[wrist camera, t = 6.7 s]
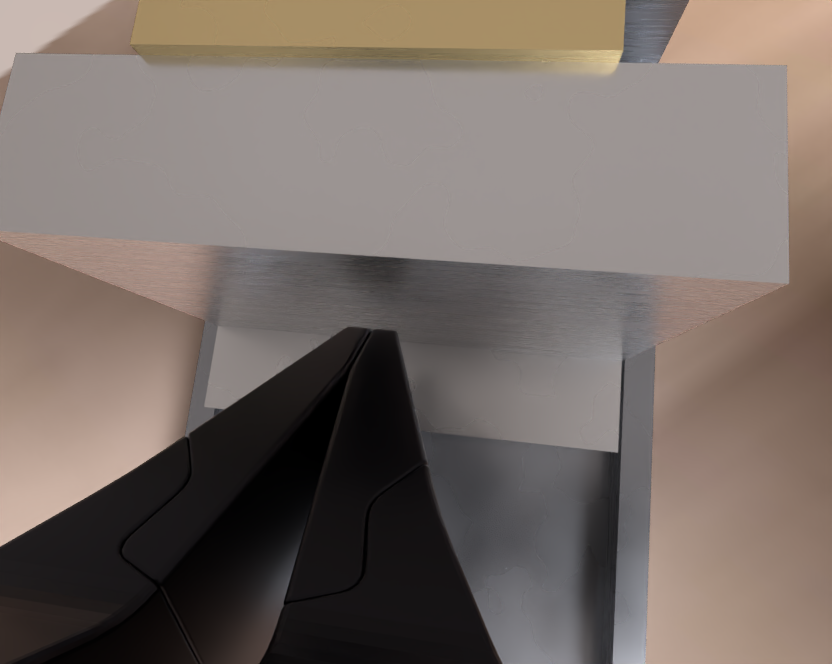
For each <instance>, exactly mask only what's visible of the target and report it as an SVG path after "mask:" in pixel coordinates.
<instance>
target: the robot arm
mask: <svg viewBox="0 0 832 664" xmlns="http://www.w3.org/2000/svg"><path fill="white" fill-rule="evenodd" d="M0 664H503V663H502V661H501V659H500V657H499V655H498V653H497V651H496V648H495V646H494V644H493V642H492V639H491V637H490V635H489V632H488V630H487V628H486V625H485V623H484V620H483V618H482V616H481V613H480V611H479V608H478V606H477V603H476V601H475V599H474V596H473V594H472V591H471V589H470V587H469V584H468V582H467V579H466V577H465V574H464V572H463V570H462V567H461V565H460V562H459V560H458V558H457V555H456V553H455V550H454V548H453V545H452V542H451V539H450V537H449V534H448V531H447V528H446V526H445V523H444V520H443V517H442V515H441V511H440V507H439V504H438V500H437V497H436V493H435V489H434V486H433V481H432V477H431V473H430V468H429V466H428V461H427V457H426V452H425V448H424V444H423V439H422V435H421V431H420V426H419V422H418V418H417V414H416V409H415V405H414V401H413V396H412V392H411V388H410V383H409V379H408V375H407V370H406V366H405V362H404V358H403V353H402V349H401V345H400V340H399V336H398V333H397V331H395V330H386V329H374V330H371V329H370V328H362V327H346V328H344V329H343V330H341V331H340V332H338V333H337V334H336V335H334V336H333V337H331V338H330V339H328V340H327V341H325V342H324V343H322V344H321V345H319V346H318V347H316V348H315V349H313V350H312V351H310V352H309V353H307V354H306V355H304V356H303V357H301V358H300V359H298V360H297V361H295V362H294V363H292V364H291V365H289V366H288V367H287V368H285V369H284V370H282V371H281V372H279V373H278V374H276V375H275V376H273V377H272V378H270V379H269V380H267V381H266V382H264V383H263V384H261V385H260V386H258V387H257V388H255V389H254V390H252V391H251V392H249V393H248V394H246V395H245V396H243V397H242V398H240V399H239V400H238V401H236V402H235V403H233V404H232V405H230V406H229V407H227V408H226V409H224V410H223V411H221V412H220V413H218V414H217V415H215V416H214V417H212V418H211V419H209V420H208V421H206V422H205V423H203V424H202V425H200V426H199V427H197V428H196V429H194V430H193V431H191V432H190V433H189V434H188V437H186V436H184V437H182V438H181V439H179V440H178V441H176V442H175V443H173V444H172V445H170V446H169V447H167V448H166V449H164V450H163V451H161V452H160V453H158V454H157V455H155V456H154V457H152V458H151V459H149V460H147V461H146V462H144V463H143V464H141V465H140V466H138V467H137V468H135V469H133V470H132V471H130V472H129V473H127V474H125V475H124V476H122V477H120V478H119V479H117V480H115V481H114V482H112V483H110V484H109V485H107V486H105V487H104V488H102V489H100V490H98V491H97V492H95V493H93V494H92V495H90V496H88V497H87V498H85V499H83V500H81V501H80V502H78V503H76V504H74V505H73V506H71V507H69V508H67V509H66V510H64V511H62V512H60V513H59V514H57V515H55V516H53V517H52V518H50V519H48V520H46V521H44V522H43V523H41V524H39V525H37V526H36V527H34V528H32V529H30V530H29V531H27V532H25V533H23V534H22V535H20V536H18V537H16V538H15V539H13V540H11V541H9V542H8V543H6V544H4V545H2V546H1V547H0Z"/></svg>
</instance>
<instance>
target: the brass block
mask: <svg viewBox="0 0 832 664" xmlns="http://www.w3.org/2000/svg"><path fill="white" fill-rule="evenodd" d="M625 4H626V0H139V4H138V9H137V13H136V18H135V22H134V27H133V32H132V36H131V41H130V45H131V46H132V47H133V48H134V49H135V50H136V52H137V53H138V54H139V55H170V56H232V57H295V58H357V59H420V60H482V61H545V62H607V63H619V61H620V58H621V55H622V53H623V47H624V26H625Z"/></svg>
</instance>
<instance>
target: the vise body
mask: <svg viewBox="0 0 832 664" xmlns="http://www.w3.org/2000/svg"><path fill="white" fill-rule="evenodd" d="M688 2H689V0H626V4H625V26H624V47H623V53H622V55H621V58H620V61H619V63H658V62H659V60H660V58H661V56H662V54H663V52H664V50H665V48H666V46H667V44H668V42H669V40H670V38H671V36H672V34H673V32H674V30H675V28H676V26H677V24H678V22H679V20H680V18H681V16H682V14H683V12H684V10H685V8H686V6H687V4H688ZM217 329H218V326H217V325H215V324H212V323H210V322H207V321H205V324H204V330H203V336H202V341H201V347H200V353H199V359H198V364H197V370H196V376H195V381H194V387H193V393H192V398H191V404H190V410H189V415H188V421H187V427H186V433H185V436H186V437H188V434H189V433H190V432H191V431H193V430H194V429H196V428H197V427H199V426H200V425H202V424H203V423H205V422H206V421H208V420H209V419H211V418H212V417H214V416H215V415H217V414H218V413H220V412H221V411H223V410H224V409H218V408H209V407H204V405H205V399H206V393H207V387H208V381H209V376H210V370H211V364H212V358H213V352H214V346H215V341H216V335H217ZM654 371H655V346H654V347H652V348H650V349H647V350H645V351H643V352H641V353H639V354H637V355H634V356H632V357H630V358H628V359H626V360H624V361H622V368H621V391H620V415H619V439H618V453H616V452H607V451H598V450H589V449H580V448H571V447H562V446H553V445H544V444H535V443H526V442H517V441H508V440H499V439H490V438H480V437H471V436H462V435H453V434H444V433H435V432H426V431H421V435H422V439H423V444H424V448H425V452H426V457H427V461H428V466H429V468H430V473H431V477H432V481H433V486H434V489H435V493H436V497H437V500H438V504H439V507H440V511H441V515H442V517H443V520H444V523H445V526H446V528H447V531H448V534H449V537H450V539H451V542H452V545H453V548H454V550H455V553H456V555H457V558H458V560H459V562H460V565H461V567H462V570H463V572H464V574H465V577H466V579H467V582H468V584H469V587H470V589H471V591H472V594H473V596H474V599H475V601H476V603H477V606H478V608H479V611H480V613H481V616H482V618H483V620H484V623H485V625H486V628H487V630H488V632H489V635H490V637H491V639H492V642H493V644H494V646H495V648H496V651H497V653H498V655H499V657H500V659H501V661H502V663H503V664H645V656H646V625H647V593H648V561H649V529H650V498H651V466H652V434H653V403H654Z"/></svg>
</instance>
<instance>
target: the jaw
mask: <svg viewBox="0 0 832 664" xmlns="http://www.w3.org/2000/svg"><path fill="white" fill-rule="evenodd" d="M0 241H2V242H5V243H7V244H10V245H12V246H15V247H18V248H20V249H23V250H25V251H28V252H30V253H33V254H35V255H38V256H41V257H43V258H46V259H48V260H51V261H53V262H56V263H59V264H61V265H64V266H66V267H69V268H71V269H74V270H76V271H79V272H82V273H84V274H87V275H89V276H92V277H94V278H97V279H100V280H102V281H105V282H107V283H110V284H112V285H115V286H117V287H120V288H123V289H125V290H128V291H130V292H133V293H135V294H138V295H141V296H143V297H146V298H148V299H151V300H153V301H156V302H158V303H161V304H164V305H166V306H169V307H171V308H174V309H176V310H179V311H182V312H184V313H187V314H189V315H192V316H194V317H197V318H199V319H202V320H205V321H207V322H210V323H212V324H215V325H217V326H218V329H217V335H216V341H215V346H214V352H213V358H212V364H211V370H210V376H209V381H208V387H207V393H206V399H205V405H204V407H209V408H218V409H226V408H227V407H229V406H230V405H232V404H233V403H235V402H236V401H238V400H239V399H240V398H242V397H243V396H245V395H246V394H248V393H249V392H251V391H252V390H254V389H255V388H257V387H258V386H260V385H261V384H263V383H264V382H266V381H267V380H269V379H270V378H272V377H273V376H275V375H276V374H278V373H279V372H281V371H282V370H284V369H285V368H287V367H288V366H289V365H291V364H292V363H294V362H295V361H297V360H298V359H300V358H301V357H303V356H304V355H306V354H307V353H309V352H310V351H312V350H313V349H315V348H316V347H318V346H319V345H321V344H322V343H324V342H325V341H327V340H328V339H330V338H331V337H333V336H334V335H336V334H337V333H338V332H340V331H341V330H343V329H344V328H346V327H362V328H370V329H371V330H374V329H386V330H395V331H397V333H398V336H399V340H400V345H401V349H402V353H403V358H404V362H405V366H406V370H407V375H408V379H409V383H410V388H411V392H412V396H413V401H414V405H415V409H416V414H417V418H418V422H419V426H420V431H426V432H435V433H444V434H453V435H462V436H471V437H480V438H490V439H499V440H508V441H517V442H526V443H535V444H544V445H553V446H562V447H571V448H580V449H589V450H598V451H607V452H616V453H618V439H619V415H620V391H621V368H622V361H624V360H626V359H628V358H630V357H632V356H634V355H637V354H639V353H641V352H643V351H645V350H647V349H650V348H652V347H654V346H656V345H658V344H660V343H662V342H665V341H667V340H669V339H671V338H673V337H675V336H678V335H680V334H682V333H684V332H686V331H688V330H691V329H693V328H695V327H697V326H699V325H701V324H704V323H706V322H708V321H710V320H712V319H714V318H717V317H719V316H721V315H723V314H725V313H727V312H729V311H732V310H734V309H736V308H738V307H740V306H742V305H745V304H747V303H749V302H751V301H753V300H755V299H758V298H760V297H762V296H764V295H766V294H768V293H771V292H773V291H775V290H777V289H779V288H781V287H784V286H786V285H788V284H789V213H788V123H787V65H732V64H670V63H607V62H545V61H482V60H420V59H357V58H295V57H232V56H170V55H107V54H45V53H16V55H15V59H14V63H13V67H12V71H11V75H10V79H9V83H8V86H7V90H6V94H5V98H4V102H3V106H2V110H1V114H0Z"/></svg>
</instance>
